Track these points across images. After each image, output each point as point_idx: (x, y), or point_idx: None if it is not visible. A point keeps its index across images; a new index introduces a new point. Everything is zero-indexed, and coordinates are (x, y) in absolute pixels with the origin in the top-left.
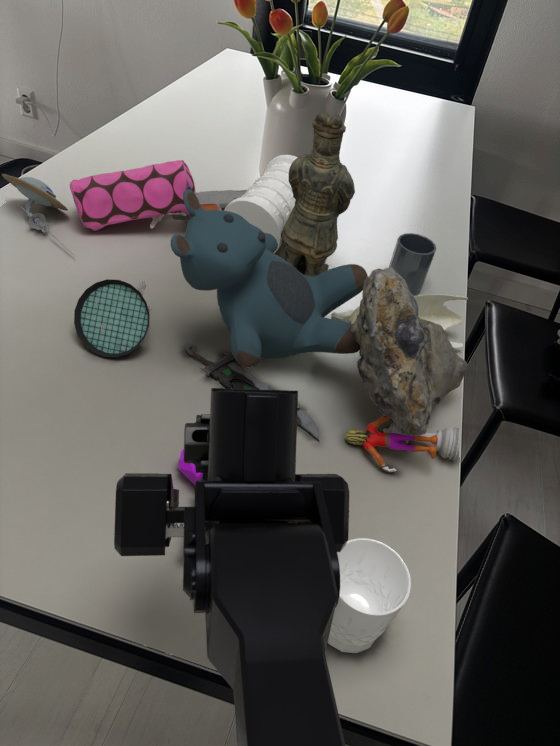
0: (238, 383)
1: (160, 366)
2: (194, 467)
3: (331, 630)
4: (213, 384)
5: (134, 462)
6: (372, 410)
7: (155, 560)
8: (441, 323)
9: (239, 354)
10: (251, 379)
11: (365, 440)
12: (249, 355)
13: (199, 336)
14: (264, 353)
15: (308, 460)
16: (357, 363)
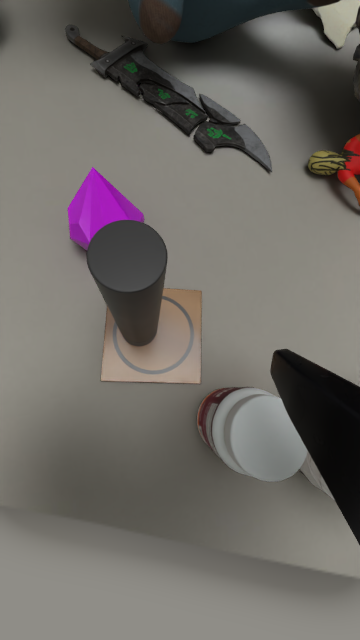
0: (149, 86)
1: (31, 64)
2: (91, 237)
3: (332, 498)
4: (113, 91)
5: (7, 228)
6: (336, 120)
7: (56, 386)
8: None
9: (144, 6)
10: (168, 79)
11: (342, 167)
12: (162, 6)
13: (85, 12)
14: (185, 20)
15: (258, 204)
16: (358, 11)
